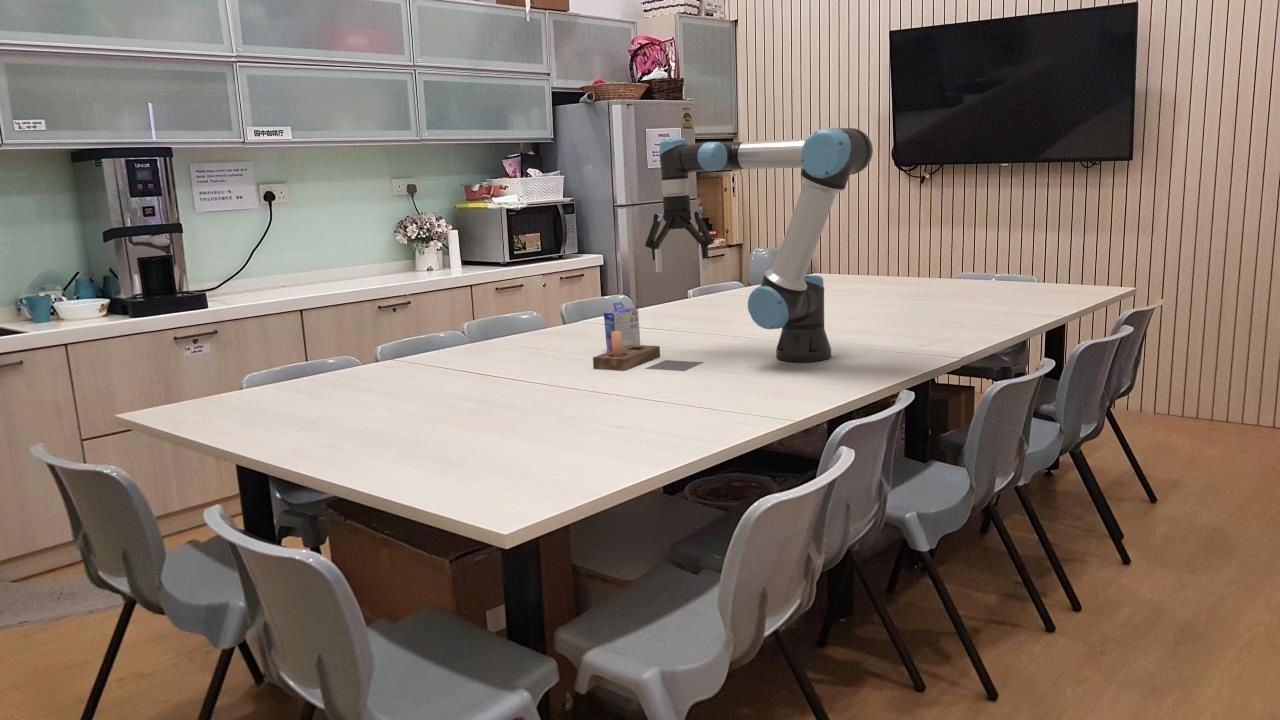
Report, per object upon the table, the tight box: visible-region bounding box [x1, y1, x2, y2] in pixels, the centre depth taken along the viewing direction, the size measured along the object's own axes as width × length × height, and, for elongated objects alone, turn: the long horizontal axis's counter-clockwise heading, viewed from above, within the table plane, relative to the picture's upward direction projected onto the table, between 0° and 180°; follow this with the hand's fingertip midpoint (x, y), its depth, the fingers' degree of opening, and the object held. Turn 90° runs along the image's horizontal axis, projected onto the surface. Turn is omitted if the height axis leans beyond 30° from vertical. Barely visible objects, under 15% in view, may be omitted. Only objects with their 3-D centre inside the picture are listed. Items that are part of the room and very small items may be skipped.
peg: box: [611, 331, 623, 357], centre depth 274 cm, size 3×3×10 cm
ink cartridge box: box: [603, 301, 641, 353], centre depth 300 cm, size 10×6×14 cm, turn 132°
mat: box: [644, 359, 704, 372], centre depth 272 cm, size 12×12×1 cm
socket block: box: [592, 344, 661, 372], centre depth 279 cm, size 10×20×4 cm, turn 150°
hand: (681, 271), depth 281 cm, fingers open, 13 cm apart
